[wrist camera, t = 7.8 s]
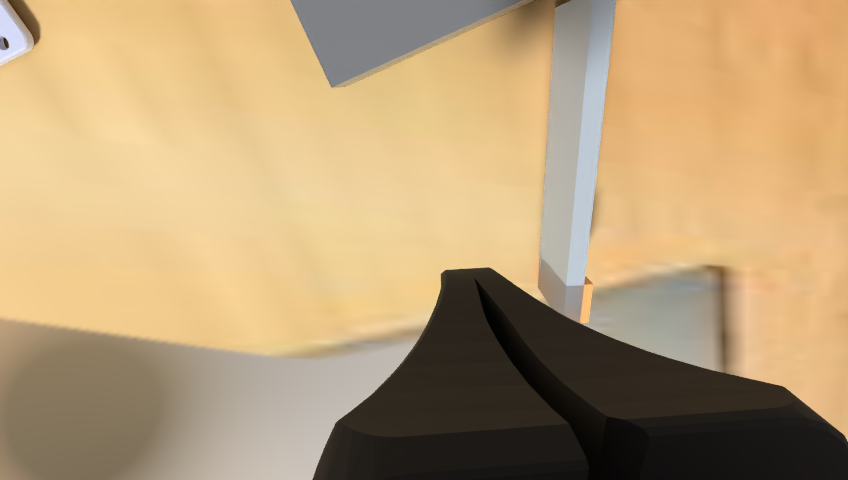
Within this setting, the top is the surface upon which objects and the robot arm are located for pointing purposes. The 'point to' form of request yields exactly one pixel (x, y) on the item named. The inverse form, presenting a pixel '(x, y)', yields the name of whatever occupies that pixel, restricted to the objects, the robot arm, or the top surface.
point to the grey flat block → (386, 30)
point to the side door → (573, 151)
